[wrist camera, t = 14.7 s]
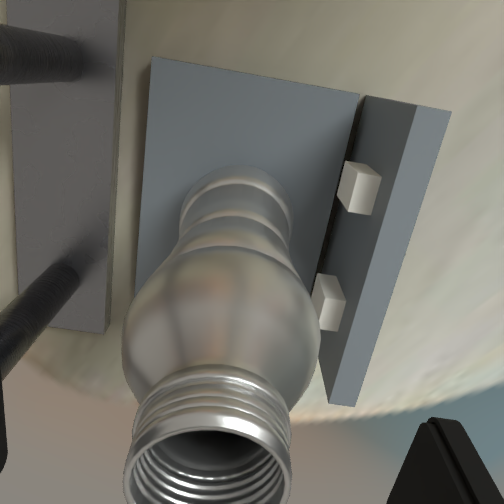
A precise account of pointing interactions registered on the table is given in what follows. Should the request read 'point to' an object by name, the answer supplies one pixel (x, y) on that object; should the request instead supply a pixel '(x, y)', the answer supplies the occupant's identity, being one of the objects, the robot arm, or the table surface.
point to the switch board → (298, 187)
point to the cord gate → (62, 163)
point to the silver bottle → (220, 350)
